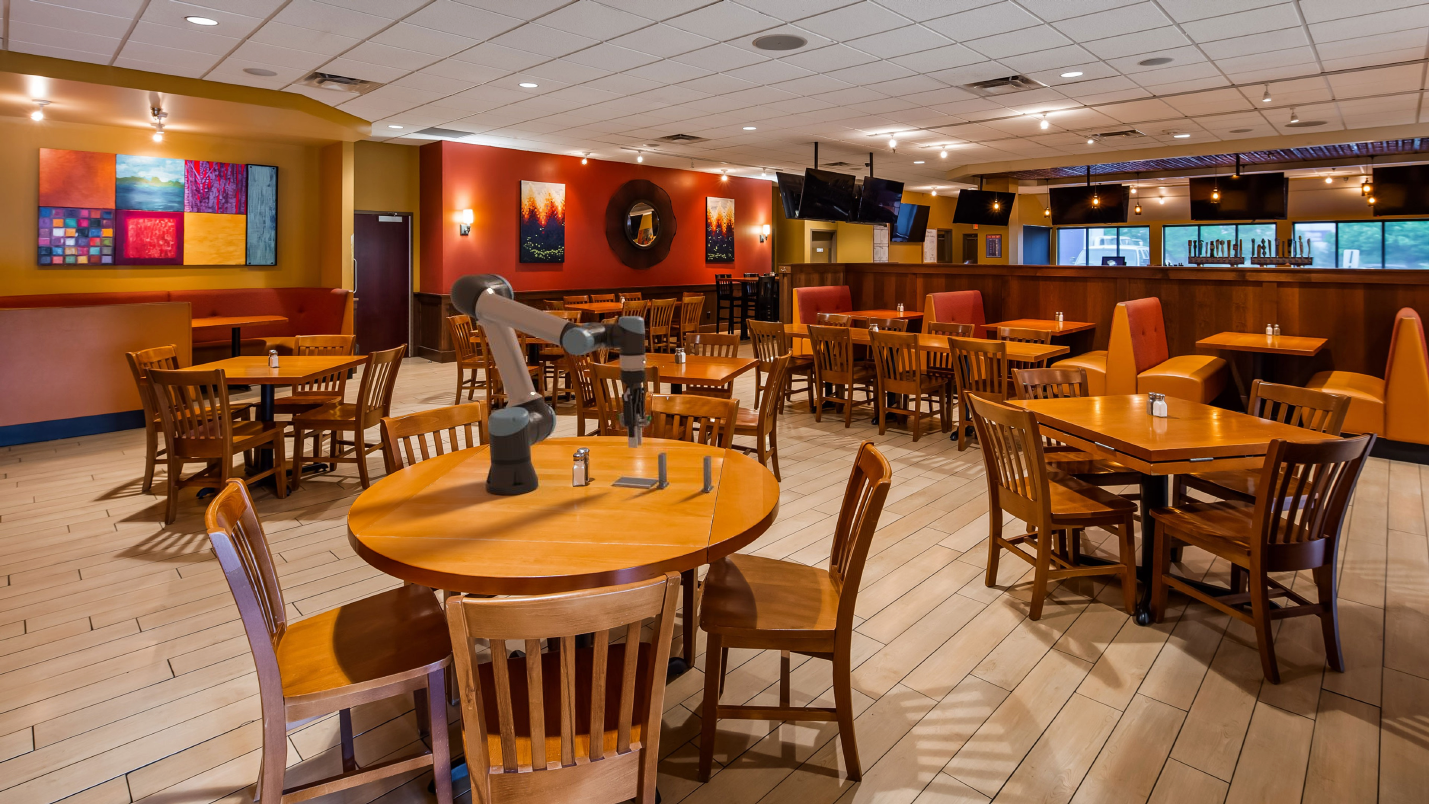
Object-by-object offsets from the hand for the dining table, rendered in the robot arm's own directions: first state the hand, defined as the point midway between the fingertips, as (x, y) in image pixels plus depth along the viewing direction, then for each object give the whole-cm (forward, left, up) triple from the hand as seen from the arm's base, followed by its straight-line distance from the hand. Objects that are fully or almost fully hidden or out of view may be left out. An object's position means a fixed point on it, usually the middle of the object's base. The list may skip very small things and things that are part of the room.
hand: (635, 445), depth 234 cm
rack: (+16, -1, -12) cm, 20 cm away
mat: (0, 0, -12) cm, 12 cm away
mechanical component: (0, 0, 0) cm, 0 cm away
